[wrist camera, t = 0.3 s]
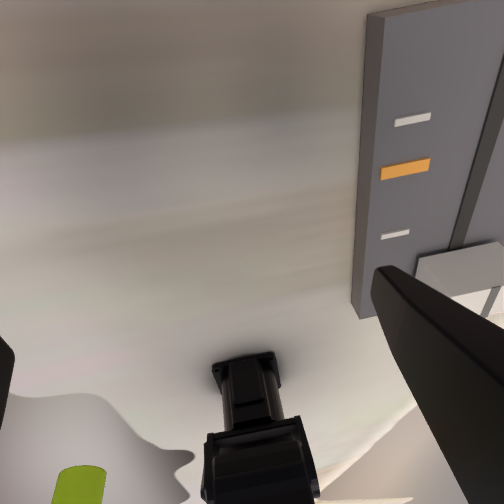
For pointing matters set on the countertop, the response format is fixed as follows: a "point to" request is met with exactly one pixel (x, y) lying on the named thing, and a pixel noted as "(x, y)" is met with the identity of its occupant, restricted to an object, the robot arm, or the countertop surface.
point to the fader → (468, 277)
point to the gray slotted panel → (429, 137)
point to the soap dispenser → (80, 485)
